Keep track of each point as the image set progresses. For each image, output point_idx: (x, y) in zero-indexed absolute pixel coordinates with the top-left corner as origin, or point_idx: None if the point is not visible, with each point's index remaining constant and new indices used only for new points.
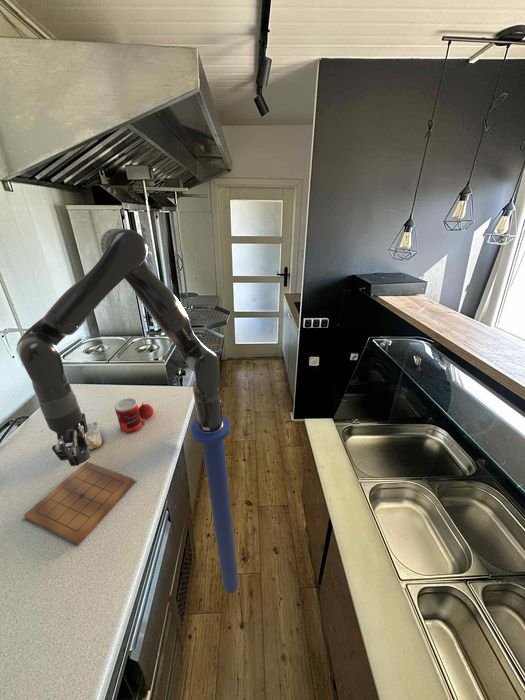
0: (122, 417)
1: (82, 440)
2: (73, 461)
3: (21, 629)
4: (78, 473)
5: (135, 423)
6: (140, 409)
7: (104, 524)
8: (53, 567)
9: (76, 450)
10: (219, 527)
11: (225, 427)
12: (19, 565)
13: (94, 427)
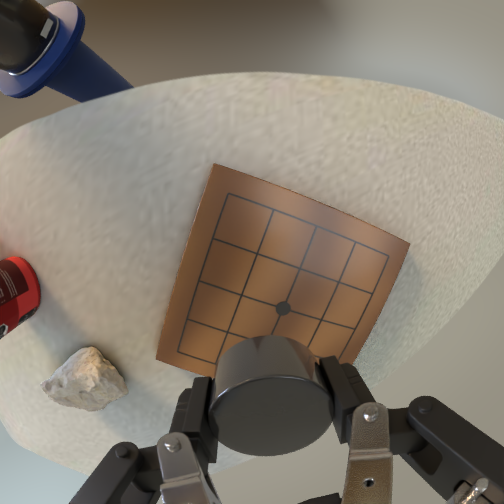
0: (1, 312)
1: (201, 438)
2: (364, 388)
3: (489, 254)
4: (200, 361)
5: (11, 269)
6: None
7: (360, 196)
8: (434, 265)
9: (277, 425)
10: None
11: (50, 10)
12: (418, 333)
13: (56, 384)
